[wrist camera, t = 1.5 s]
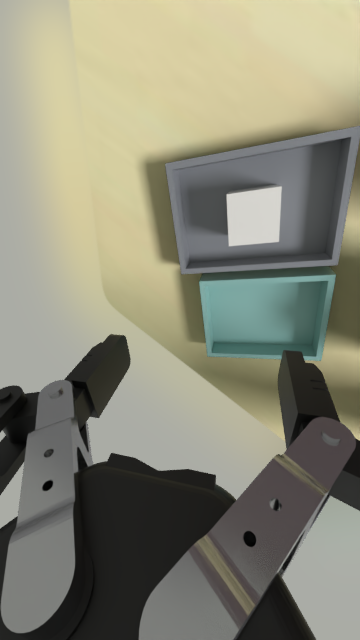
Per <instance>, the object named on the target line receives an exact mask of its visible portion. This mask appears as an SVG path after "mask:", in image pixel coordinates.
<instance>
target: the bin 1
mask: <svg viewBox="0 0 360 640" xmlns="http://www.w3.org/2000/svg"><path fill="white" fill-rule="evenodd" d="M359 140H360V126H356V127H351V128H346V129H341V130H336V131H331V132H325V133H320V134H315V135H310V136H305V137H300V138H294V139H289V140H284V141H279V142H274V143H269V144H263V145H258V146H253V147H248V148H243V149H238V150H232V151H227V152H222V153H217V154H212V155H207V156H202V157H196V158H191V159H186V160H181V161H176V162H171V163H165V167H166V174H167V180H168V187H169V194H170V201H171V208H172V214H173V221H174V228H175V235H176V242H177V248H178V255H179V262H180V269H181V274H195V273H212V272H229V271H246V270H263V269H280V268H297V267H314V266H331V265H338V261H339V255H340V249H341V244H342V238H343V232H344V226H345V221H346V215H347V209H348V203H349V198H350V192H351V186H352V180H353V175H354V169H355V163H356V157H357V152H358V146H359ZM275 184H277V185H280V186H282V192H281V211H280V231H279V242H273V243H261V244H250V245H238V246H229V239H228V217H227V195H226V194H227V193H228V192H230V191H234V190H241V189H248V188H255V187H261V186H268V185H275Z"/></svg>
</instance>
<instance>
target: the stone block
mask: <svg viewBox="0 0 360 640" xmlns="http://www.w3.org/2000/svg"><path fill="white" fill-rule="evenodd" d="M281 192H282V186H280V185H277V184H275V185H268V186H261V187H255V188H248V189H241V190H234V191H230V192H228V193H227V194H226V195H227V217H228V239H229V246H238V245H250V244H261V243H273V242H279V231H280V211H281Z"/></svg>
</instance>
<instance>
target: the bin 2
mask: <svg viewBox="0 0 360 640" xmlns="http://www.w3.org/2000/svg"><path fill="white" fill-rule="evenodd" d="M335 278H336V274H335V273H334V272H333V271H332V269H331V268H330V267H329V266H314V267H297V268H280V269H263V270H246V271H229V272H212V273H203V274H202V276H201V278H200V281H199V285H200V294H201V303H202V312H203V321H204V330H205V339H206V348H207V356H208V357H235V358H262V359H281V358H282V353H283V350H291V351H301V352H302V354H303V357H304V360H315V361H321V359H322V353H323V347H324V342H325V336H326V330H327V324H328V319H329V313H330V307H331V301H332V296H333V290H334V284H335Z"/></svg>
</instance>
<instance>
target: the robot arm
mask: <svg viewBox="0 0 360 640" xmlns="http://www.w3.org/2000/svg"><path fill="white" fill-rule="evenodd" d="M129 366H130V354H129V349H128V345H127V340H126V337H125V336H124V335H113V334H111V335H109V336H108V337H107V338H106V340H105V341H104V342H103V343H99V344H98V345H96V346H95V347H93V348H92V349H91V350H90V351H89V352H88V354H87V355H86V356H85V357H84V358H83V359H82V361H80V363H79V364H78V365H77V366H76V367H75V368H74V369H73V370H72V372H71V373H70V374H69V375H68V376H67V377H66V378H65V380H59V381H55V382H52V383H50V384H49V385H47V386H46V387H44V388H43V389H42V390H41V392H36V393H27V394H24V392H23V390H22V389H21V388H20V387H19V386H8V387H5V388H3V389H0V432H1V431H2V430H3V431H4V433H5V434H6V436H5V437H4V438H3V440H2V441H1V442H0V495H1V493H2V492H3V491H4V489H5V488H6V486H7V485H8V484H9V482H10V481H11V479H12V478H13V477H14V475H15V474H16V472H17V471H18V469H19V468H20V467H21V465H22V464H23V462H24V469H23V477H22V486H21V495H20V502H19V511H18V516H17V517H16V518H14V519H13V520H12V521H10V522H9V523H8V524H6V525H5V526H3V527H2V528H1V529H0V640H316V638H315V637H314V635H313V633H312V631H311V629H310V628H309V626H308V624H307V622H306V620H305V619H304V617H303V615H302V613H301V611H300V610H299V608H298V606H297V604H296V602H295V600H294V599H293V597H292V595H291V593H290V591H289V590H288V588H287V586H286V584H285V582H284V580H283V579H282V576H283V575H284V573H285V572H286V570H287V568H288V567H289V565H290V563H291V562H292V560H293V558H294V557H295V555H296V553H297V552H298V550H299V548H300V546H301V545H302V543H303V541H304V539H305V538H306V536H307V534H308V532H309V531H310V529H311V527H312V526H313V524H314V522H315V521H316V519H317V518H318V516H319V514H320V513H321V511H322V509H323V507H324V506H325V504H326V503H327V501H328V499H329V498H330V496H333V497H334V498H336V499H338V500H340V501H342V502H344V503H346V504H348V505H350V506H352V507H353V508H356V509H358V510H359V511H360V441H359V440H357V439H356V438H355V437H354V435H353V434H352V432H351V431H350V430H349V429H348V428H347V427H346V426H345V425H343V424H342V423H340V420H339V418H338V415H337V412H336V409H335V407H334V404H333V401H332V399H331V396H330V393H329V391H328V388H327V385H326V383H325V379H324V377H323V374H322V372H321V371H320V370H319V369H318V368H317V367H316V366H315V365H314V364H312V363H305V361H304V357H303V354H302V352H301V351H291V350H283V353H282V358H281V364H280V369H279V374H278V390H279V398H280V405H281V412H282V419H283V426H284V434H285V441H286V448H287V450H286V451H285V453H284V454H283V455H279V454H278V455H276V456H275V457H274V458H273V459H272V460H271V461H270V462H269V463H268V464H267V466H266V467H265V468H264V469H263V470H262V471H261V473H260V474H259V475H258V476H257V477H256V478H255V479H254V481H253V482H252V483H251V484H250V485H249V487H248V488H247V489H246V490H245V491H244V492H243V493H242V494H241V496H240V497H239V498H238V499H237V500H236V499H235V498H234V497H233V496H232V495H231V494H230V493H228V492H227V491H226V490H224V489H223V488H222V487H220V486H218V485H216V475H213V474H208V473H203V472H199V471H194V470H189V469H184V470H167V471H158V470H156V469H154V468H152V467H150V466H149V465H147V464H145V463H143V462H141V461H140V460H138V459H136V458H133V457H128V456H123V455H119V454H114V453H111V455H110V457H109V459H108V461H107V462H101V463H97V464H93V461H92V455H91V447H90V440H89V431H88V424H87V422H86V421H87V420H88V418H89V417H96V418H99V417H100V415H101V413H102V412H103V410H104V408H105V407H106V405H107V403H108V402H109V400H110V399H111V397H112V395H113V394H114V392H115V390H116V389H117V387H118V385H119V383H120V382H121V380H122V379H123V377H124V375H125V374H126V372H127V370H128V368H129Z"/></svg>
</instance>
